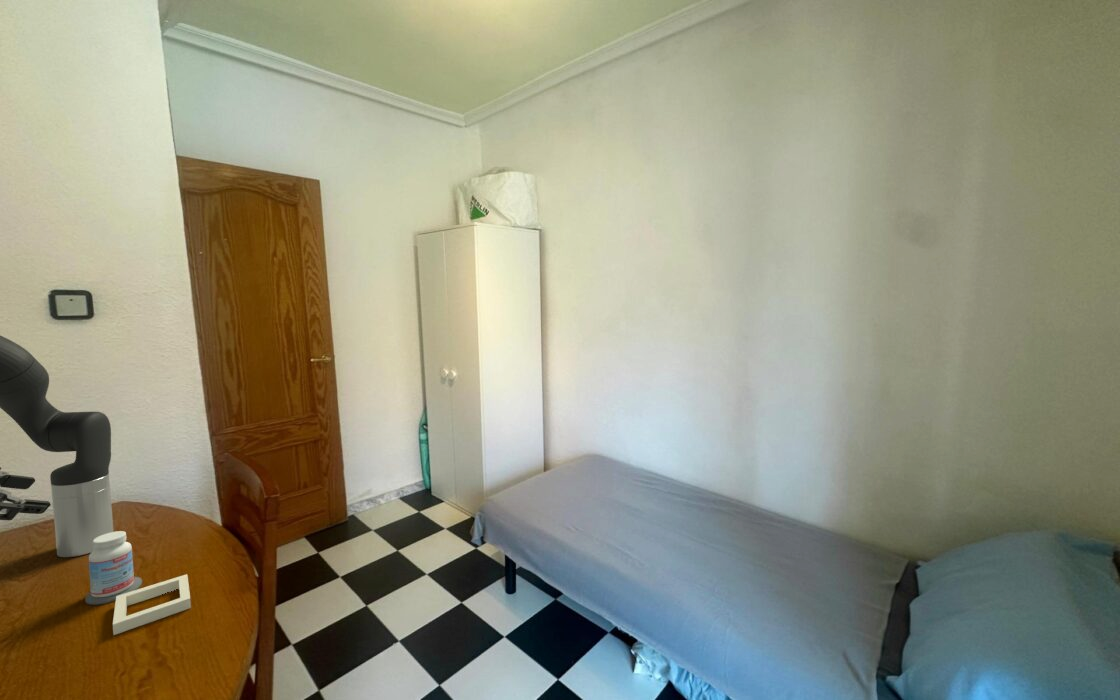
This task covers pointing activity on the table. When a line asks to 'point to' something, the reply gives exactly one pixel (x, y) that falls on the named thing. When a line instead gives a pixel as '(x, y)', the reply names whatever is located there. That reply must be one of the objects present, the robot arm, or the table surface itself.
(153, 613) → the holder
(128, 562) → the pill bottle
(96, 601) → the coaster
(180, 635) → the table surface
